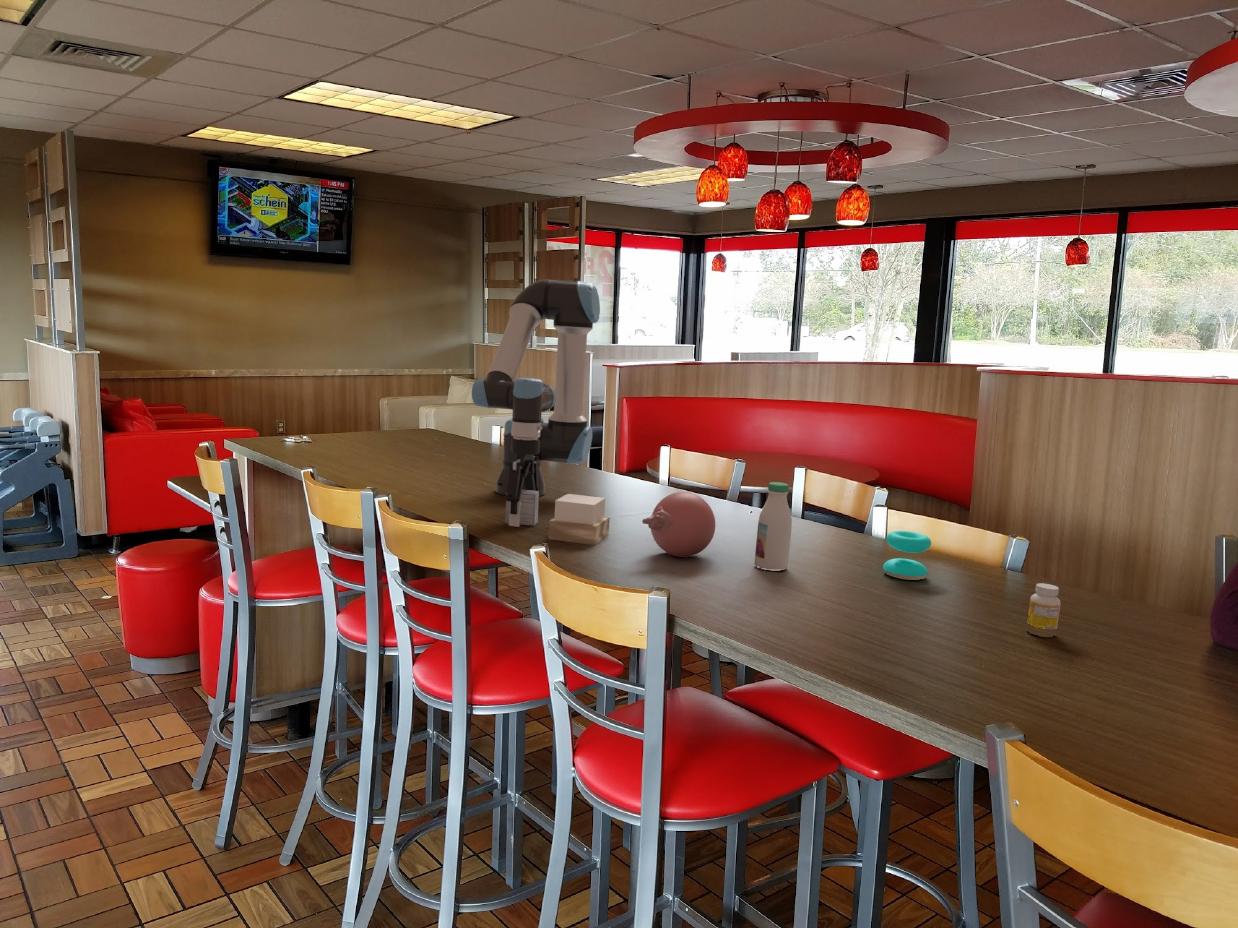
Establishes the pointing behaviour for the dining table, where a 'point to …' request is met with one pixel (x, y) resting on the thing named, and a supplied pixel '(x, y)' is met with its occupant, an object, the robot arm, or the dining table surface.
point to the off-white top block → (579, 509)
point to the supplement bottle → (1044, 607)
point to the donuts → (907, 544)
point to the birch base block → (579, 531)
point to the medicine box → (526, 508)
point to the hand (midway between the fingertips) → (521, 522)
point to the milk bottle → (774, 529)
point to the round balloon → (682, 524)
